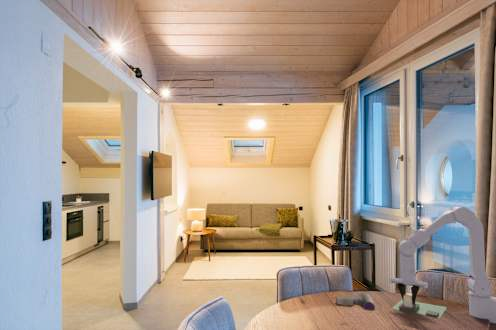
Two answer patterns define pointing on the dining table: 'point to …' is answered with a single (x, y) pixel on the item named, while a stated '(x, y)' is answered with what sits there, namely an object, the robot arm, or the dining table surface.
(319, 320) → the dining table surface
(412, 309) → the socket
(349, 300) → the infrared thermometer
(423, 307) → the circuit board
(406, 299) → the plug
